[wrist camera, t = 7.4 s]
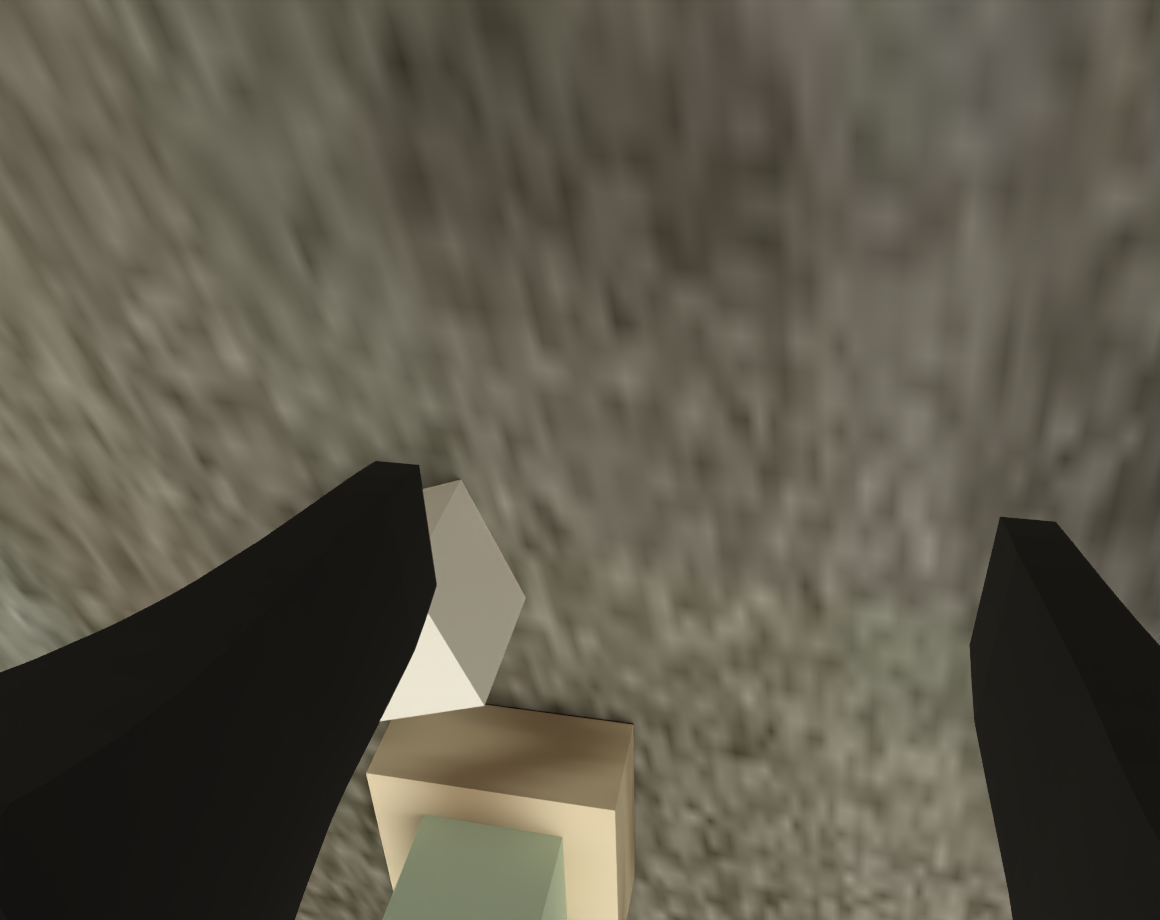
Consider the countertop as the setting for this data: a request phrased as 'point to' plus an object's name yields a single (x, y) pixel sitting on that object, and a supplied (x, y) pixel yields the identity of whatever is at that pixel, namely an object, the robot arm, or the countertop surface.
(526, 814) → the maple block
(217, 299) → the countertop surface
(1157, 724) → the robot arm
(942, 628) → the countertop surface
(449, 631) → the ivory block
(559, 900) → the sage block
